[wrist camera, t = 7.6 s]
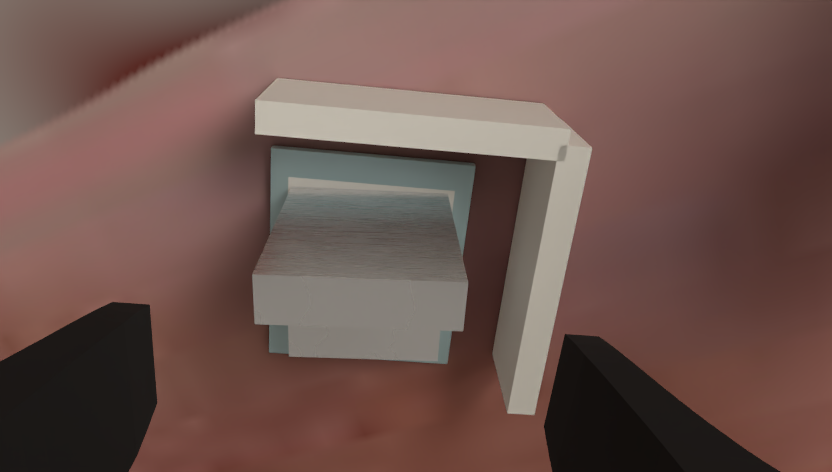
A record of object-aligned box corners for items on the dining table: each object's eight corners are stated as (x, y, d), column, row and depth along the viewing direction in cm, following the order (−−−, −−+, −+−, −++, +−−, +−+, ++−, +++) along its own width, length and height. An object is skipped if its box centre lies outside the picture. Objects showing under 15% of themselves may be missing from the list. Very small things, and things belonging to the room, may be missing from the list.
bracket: (291, 186, 18) (251, 274, 13) (447, 193, 18) (468, 282, 13) (294, 334, 20) (261, 460, 15) (435, 339, 20) (448, 465, 15)
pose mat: (272, 145, 18) (270, 148, 18) (474, 163, 18) (475, 166, 18) (270, 347, 21) (269, 352, 20) (446, 358, 21) (447, 364, 21)
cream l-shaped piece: (277, 78, 17) (255, 99, 14) (564, 105, 18) (596, 131, 15) (273, 339, 20) (255, 398, 18) (515, 355, 21) (534, 415, 18)
